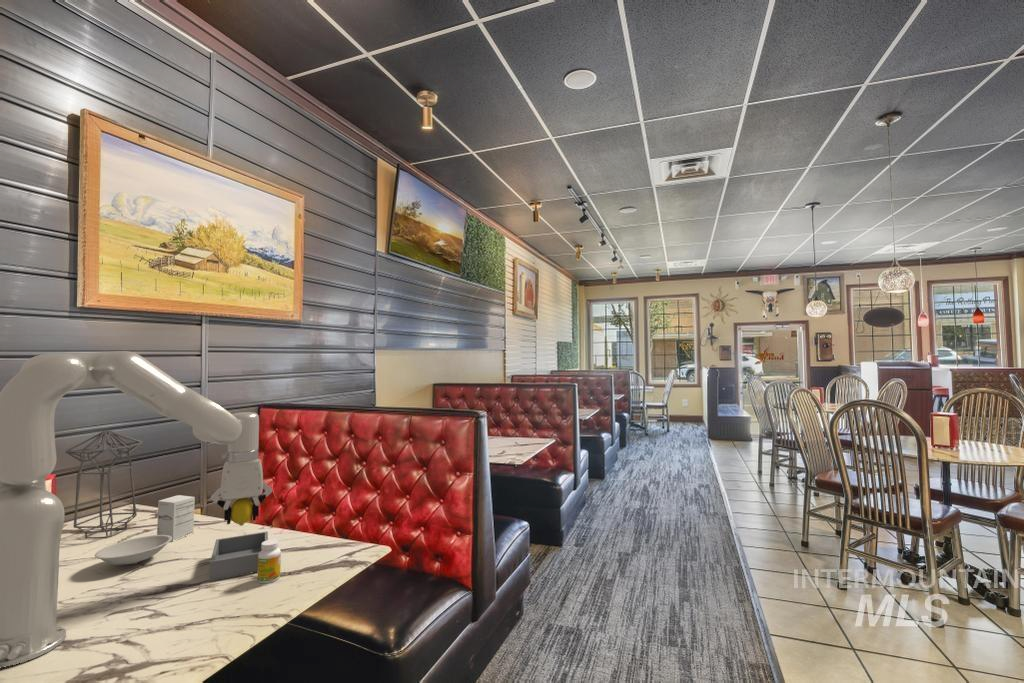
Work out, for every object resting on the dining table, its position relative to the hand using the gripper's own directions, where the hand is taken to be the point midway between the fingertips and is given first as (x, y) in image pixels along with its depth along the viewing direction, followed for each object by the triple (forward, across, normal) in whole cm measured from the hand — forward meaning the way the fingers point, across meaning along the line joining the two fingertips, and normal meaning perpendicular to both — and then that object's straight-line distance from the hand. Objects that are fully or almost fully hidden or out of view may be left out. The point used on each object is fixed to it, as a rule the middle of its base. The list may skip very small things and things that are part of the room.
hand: (241, 520), depth 128 cm
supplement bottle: (+14, +7, -11) cm, 19 cm away
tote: (+13, 0, +4) cm, 14 cm away
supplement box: (+14, -20, +38) cm, 45 cm away
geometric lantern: (+13, -42, +53) cm, 69 cm away
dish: (+13, -27, +19) cm, 36 cm away
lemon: (+2, 0, 0) cm, 2 cm away
